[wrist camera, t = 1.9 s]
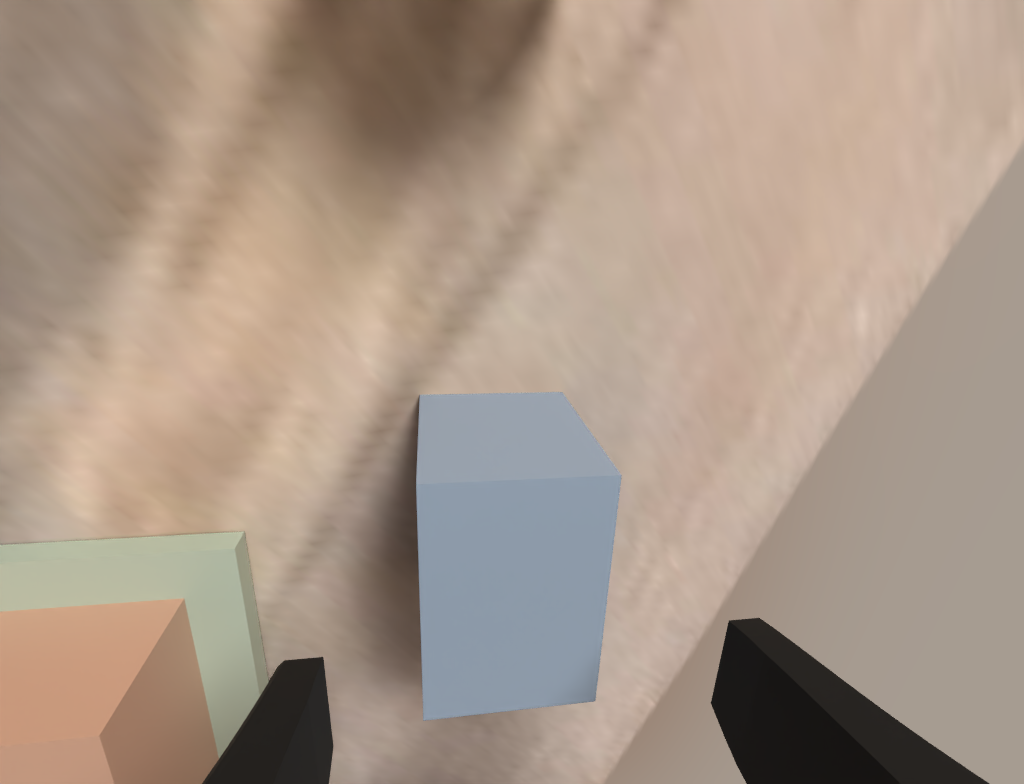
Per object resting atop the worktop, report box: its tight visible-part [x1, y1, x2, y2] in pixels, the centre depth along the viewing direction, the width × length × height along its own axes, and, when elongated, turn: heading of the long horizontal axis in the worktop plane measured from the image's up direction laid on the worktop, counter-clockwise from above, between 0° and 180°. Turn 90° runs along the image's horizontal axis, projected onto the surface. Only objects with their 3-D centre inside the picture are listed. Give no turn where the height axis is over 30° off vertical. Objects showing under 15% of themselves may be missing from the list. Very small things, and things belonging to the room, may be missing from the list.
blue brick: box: [416, 392, 621, 721], centre depth 13 cm, size 6×4×5 cm, turn 179°
